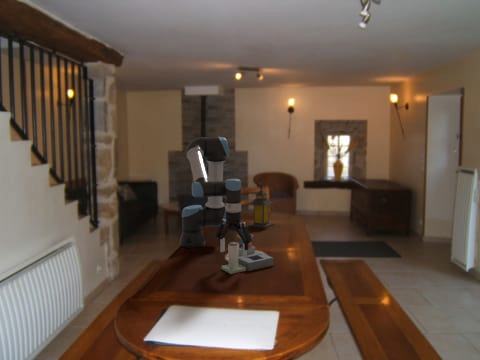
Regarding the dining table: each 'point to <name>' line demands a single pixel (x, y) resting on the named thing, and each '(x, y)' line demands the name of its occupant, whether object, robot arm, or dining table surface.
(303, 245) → the dining table surface
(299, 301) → the dining table surface
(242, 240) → the mug
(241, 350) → the dining table surface
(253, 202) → the lantern
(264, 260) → the housing
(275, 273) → the dining table surface
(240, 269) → the tray
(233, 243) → the cylinder
